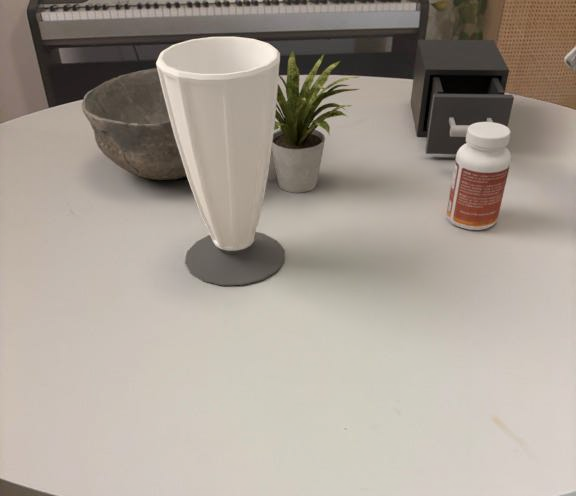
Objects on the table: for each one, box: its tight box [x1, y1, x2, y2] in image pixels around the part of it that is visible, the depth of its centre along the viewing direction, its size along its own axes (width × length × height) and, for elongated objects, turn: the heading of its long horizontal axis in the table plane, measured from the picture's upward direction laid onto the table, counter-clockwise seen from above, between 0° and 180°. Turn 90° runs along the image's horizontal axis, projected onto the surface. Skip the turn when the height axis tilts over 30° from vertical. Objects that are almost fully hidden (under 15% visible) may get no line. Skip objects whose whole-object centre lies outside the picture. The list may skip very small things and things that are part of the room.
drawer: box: [425, 75, 515, 155], centre depth 90 cm, size 17×10×8 cm, turn 176°
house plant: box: [271, 50, 359, 194], centre depth 80 cm, size 14×14×16 cm
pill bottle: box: [446, 122, 512, 231], centre depth 75 cm, size 6×6×11 cm
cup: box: [155, 36, 285, 287], centre depth 66 cm, size 12×12×22 cm
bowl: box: [81, 67, 187, 181], centre depth 87 cm, size 21×21×10 cm
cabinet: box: [410, 39, 510, 138], centre depth 98 cm, size 14×12×10 cm
